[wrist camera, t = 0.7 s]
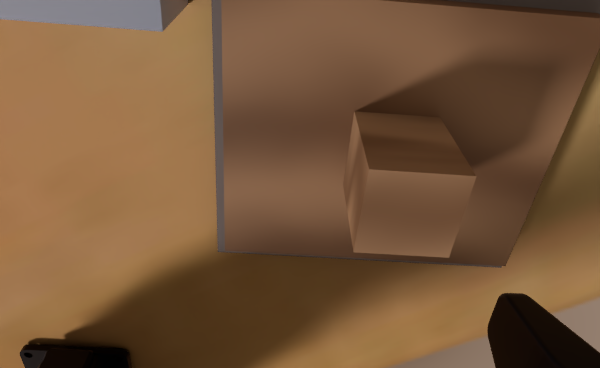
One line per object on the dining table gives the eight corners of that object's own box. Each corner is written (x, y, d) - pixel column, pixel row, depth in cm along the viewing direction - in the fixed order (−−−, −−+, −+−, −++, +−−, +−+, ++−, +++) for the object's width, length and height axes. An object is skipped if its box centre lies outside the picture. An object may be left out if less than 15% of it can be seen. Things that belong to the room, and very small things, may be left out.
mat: (497, 259, 25) (501, 267, 24) (219, 244, 24) (217, 251, 24) (612, -18, 17) (621, -15, 17) (213, -52, 17) (210, -50, 16)
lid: (497, 252, 24) (546, 340, 19) (227, 237, 23) (210, 324, 19) (597, 12, 17) (705, 58, 13) (224, -18, 17) (197, 18, 12)
